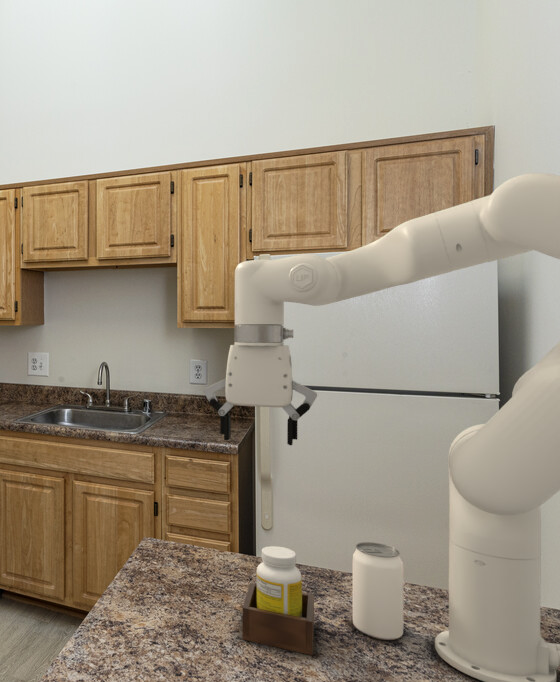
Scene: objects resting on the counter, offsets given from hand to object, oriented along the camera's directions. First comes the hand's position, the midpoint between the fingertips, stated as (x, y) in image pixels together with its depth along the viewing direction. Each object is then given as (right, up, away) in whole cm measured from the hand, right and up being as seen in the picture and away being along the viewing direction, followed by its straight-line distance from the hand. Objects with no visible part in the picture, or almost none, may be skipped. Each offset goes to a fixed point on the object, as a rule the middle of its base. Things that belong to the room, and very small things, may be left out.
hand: (258, 441), depth 91 cm
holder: (0, -26, -9) cm, 28 cm away
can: (+14, -27, -9) cm, 31 cm away
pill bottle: (0, -26, -9) cm, 27 cm away
